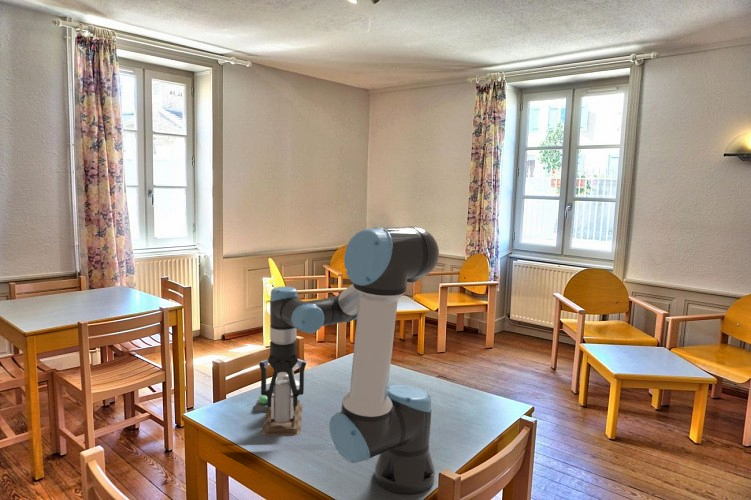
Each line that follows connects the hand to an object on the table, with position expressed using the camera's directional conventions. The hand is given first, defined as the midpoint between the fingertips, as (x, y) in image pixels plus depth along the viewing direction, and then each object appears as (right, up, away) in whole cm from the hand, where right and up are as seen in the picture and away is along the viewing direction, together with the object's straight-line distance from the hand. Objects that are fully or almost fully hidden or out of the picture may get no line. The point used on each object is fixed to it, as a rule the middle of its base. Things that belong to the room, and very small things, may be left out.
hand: (282, 416), depth 150 cm
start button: (-8, +1, +12) cm, 14 cm away
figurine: (-3, 0, +31) cm, 31 cm away
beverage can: (0, -1, 0) cm, 1 cm away
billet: (-1, -2, +10) cm, 10 cm away
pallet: (-2, -4, +5) cm, 7 cm away
